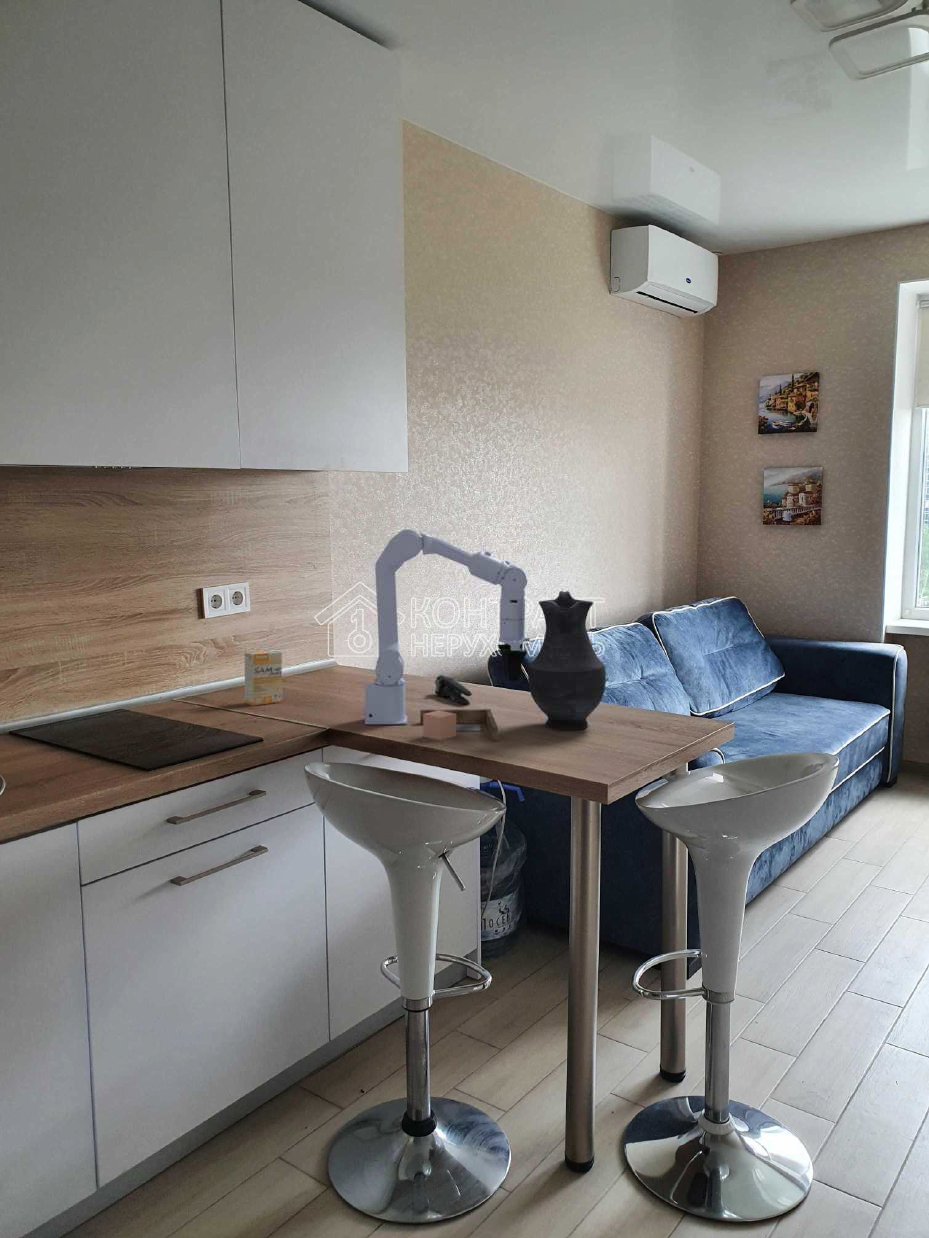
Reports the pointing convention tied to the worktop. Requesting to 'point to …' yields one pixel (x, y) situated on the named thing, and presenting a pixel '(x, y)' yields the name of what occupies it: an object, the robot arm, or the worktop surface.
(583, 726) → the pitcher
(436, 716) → the cube
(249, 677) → the supplement box
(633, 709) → the worktop surface
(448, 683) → the can opener
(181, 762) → the worktop surface
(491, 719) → the arena
